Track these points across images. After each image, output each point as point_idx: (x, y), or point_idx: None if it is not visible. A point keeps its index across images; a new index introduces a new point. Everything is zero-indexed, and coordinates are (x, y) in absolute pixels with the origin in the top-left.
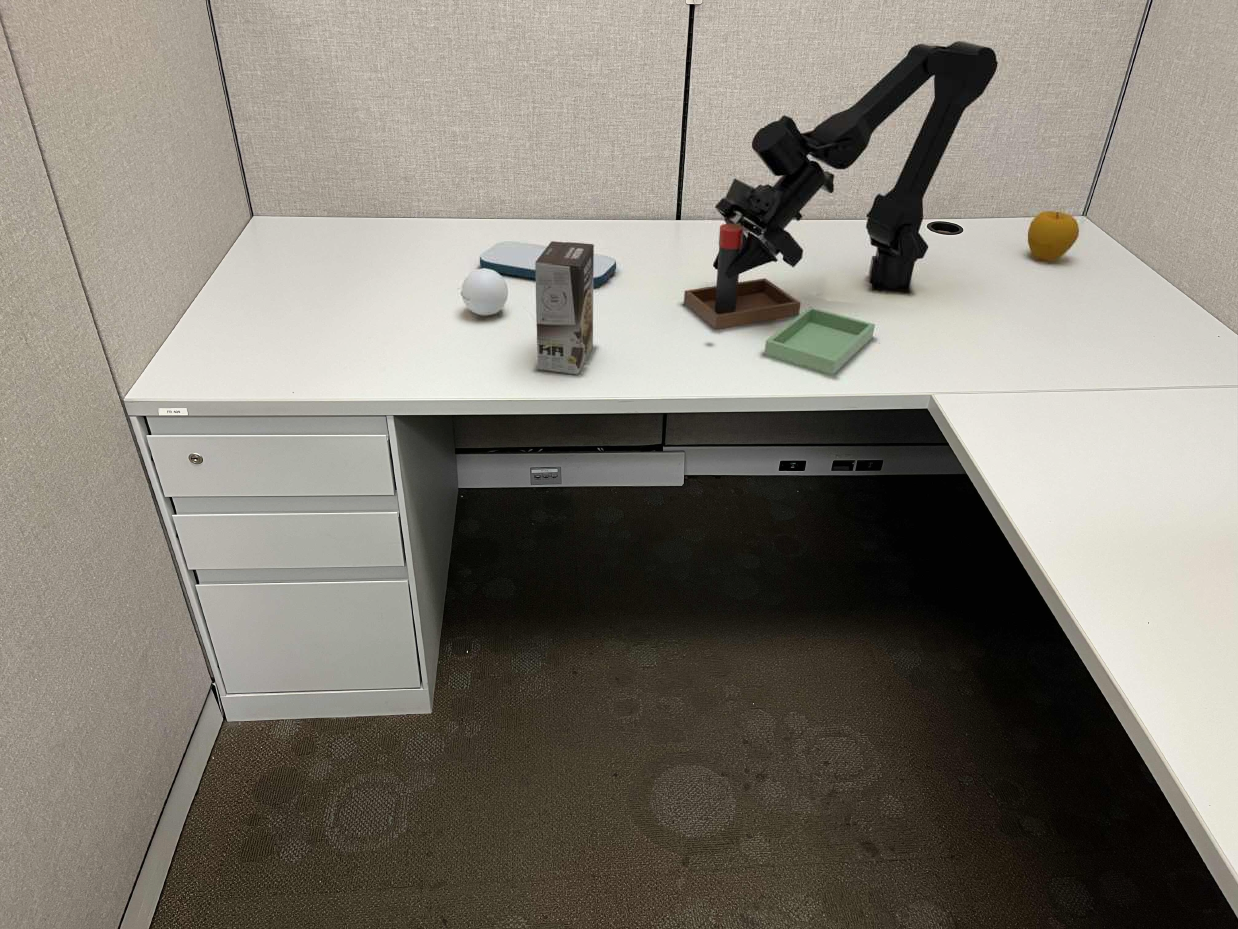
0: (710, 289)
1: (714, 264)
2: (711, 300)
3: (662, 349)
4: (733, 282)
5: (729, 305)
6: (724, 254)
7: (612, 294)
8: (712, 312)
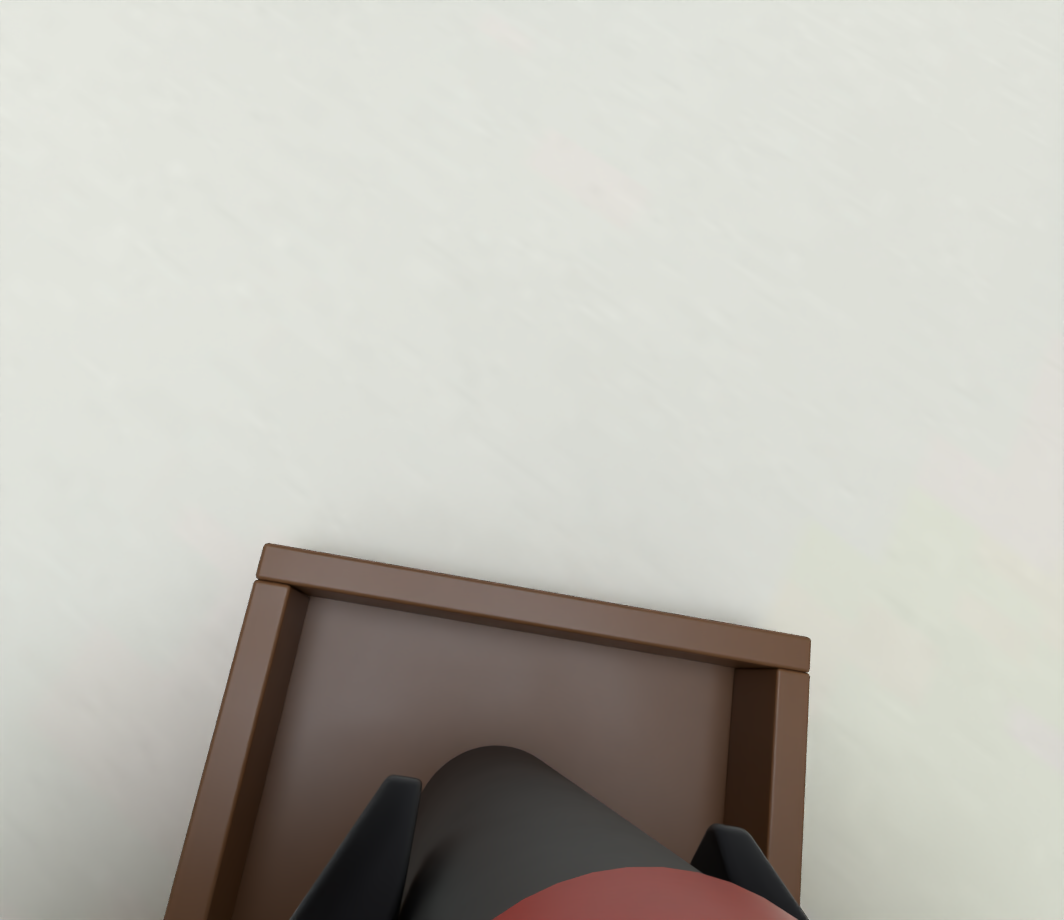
0: None
1: (724, 837)
2: None
3: (290, 153)
4: None
5: None
6: (520, 872)
7: (1057, 350)
8: (348, 568)
